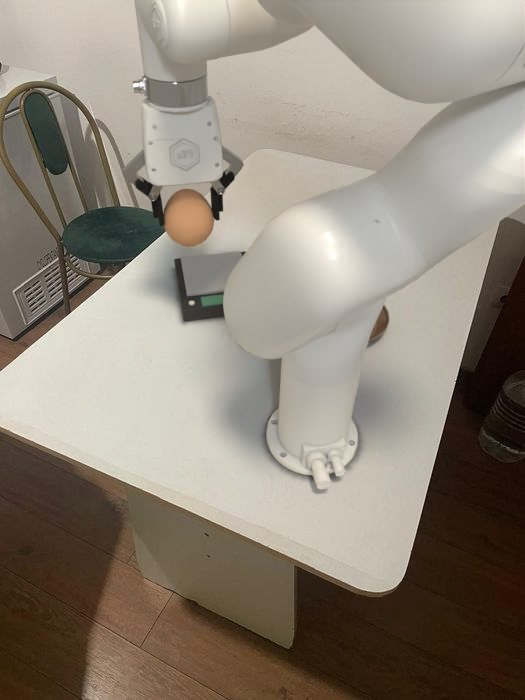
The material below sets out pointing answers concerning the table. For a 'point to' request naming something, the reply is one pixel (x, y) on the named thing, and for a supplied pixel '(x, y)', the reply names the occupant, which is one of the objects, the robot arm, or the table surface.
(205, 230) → the egg
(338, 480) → the table surface
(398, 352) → the table surface
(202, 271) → the scale
